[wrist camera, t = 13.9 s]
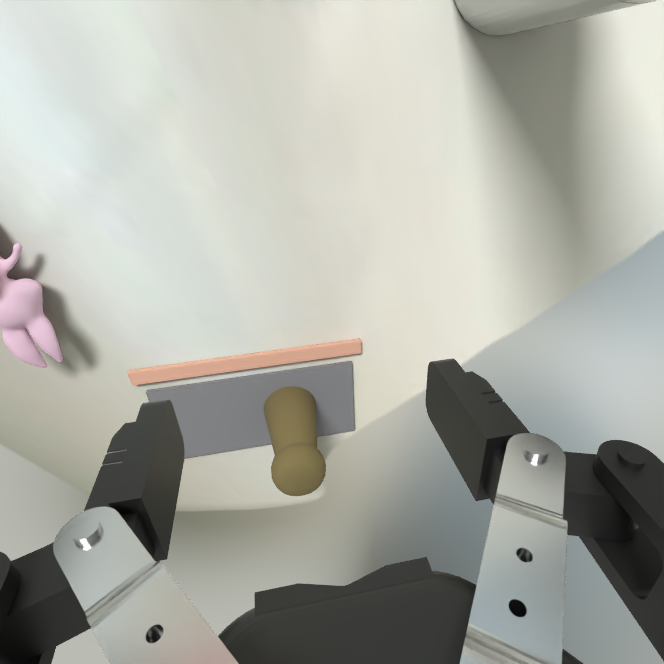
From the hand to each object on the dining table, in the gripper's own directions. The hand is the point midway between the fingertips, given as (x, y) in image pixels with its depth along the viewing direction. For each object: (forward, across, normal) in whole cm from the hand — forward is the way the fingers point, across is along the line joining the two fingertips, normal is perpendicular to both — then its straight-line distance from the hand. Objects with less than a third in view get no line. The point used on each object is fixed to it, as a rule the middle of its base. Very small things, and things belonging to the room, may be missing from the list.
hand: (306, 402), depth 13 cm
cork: (+28, 0, +23) cm, 36 cm away
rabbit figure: (+28, +23, +5) cm, 37 cm away
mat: (+28, +4, +23) cm, 37 cm away
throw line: (+28, +4, +16) cm, 33 cm away
